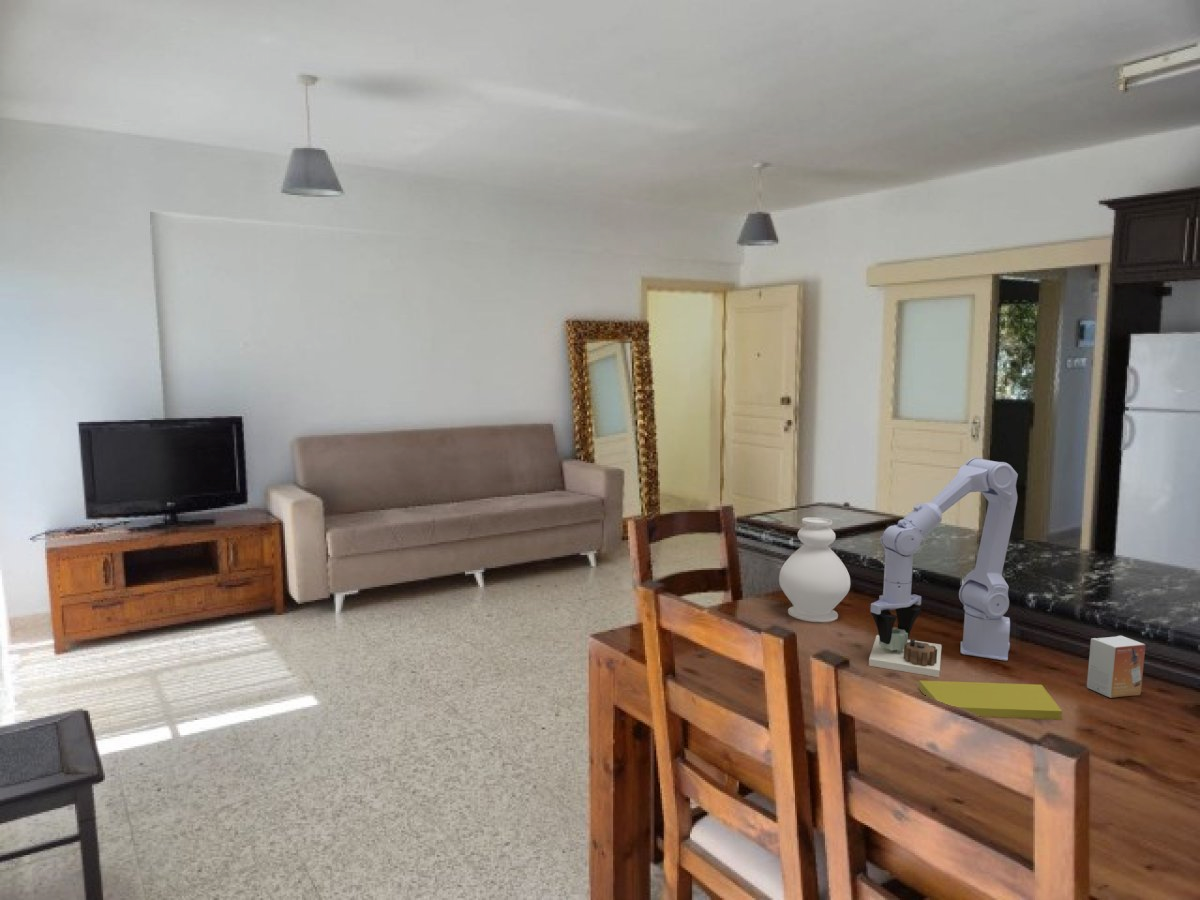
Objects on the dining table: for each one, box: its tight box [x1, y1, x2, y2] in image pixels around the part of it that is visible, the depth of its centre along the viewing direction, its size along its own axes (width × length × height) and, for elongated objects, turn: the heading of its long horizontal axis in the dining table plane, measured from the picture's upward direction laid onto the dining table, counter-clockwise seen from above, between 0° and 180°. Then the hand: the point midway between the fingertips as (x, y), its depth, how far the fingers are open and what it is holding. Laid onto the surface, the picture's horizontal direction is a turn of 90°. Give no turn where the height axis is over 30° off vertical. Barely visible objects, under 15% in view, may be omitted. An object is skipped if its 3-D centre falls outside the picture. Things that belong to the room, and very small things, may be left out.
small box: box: [1086, 635, 1147, 699], centre depth 156 cm, size 8×6×10 cm
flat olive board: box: [918, 679, 1063, 721], centre depth 150 cm, size 12×2×24 cm
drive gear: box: [904, 637, 937, 666], centre depth 167 cm, size 6×6×4 cm
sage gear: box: [879, 626, 909, 651], centre depth 173 cm, size 6×6×3 cm
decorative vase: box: [778, 516, 851, 623], centre depth 201 cm, size 18×18×25 cm
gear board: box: [868, 634, 942, 678], centre depth 172 cm, size 14×17×6 cm
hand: (894, 640), depth 173 cm, fingers closed on sage gear, 6 cm apart
